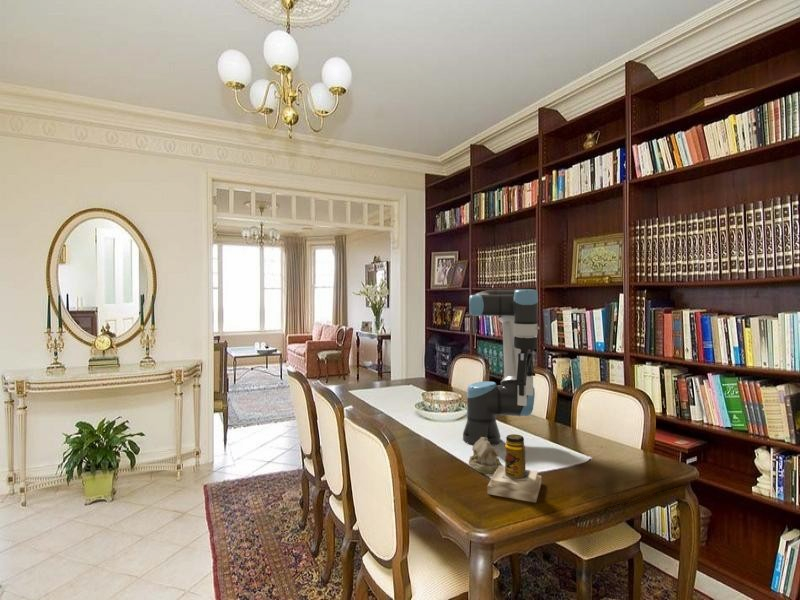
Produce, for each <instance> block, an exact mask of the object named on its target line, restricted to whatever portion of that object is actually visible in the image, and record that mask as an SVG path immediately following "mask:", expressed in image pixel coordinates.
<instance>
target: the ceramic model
mask: <svg viewBox="0 0 800 600" xmlns="http://www.w3.org/2000/svg"><path fill="white" fill-rule="evenodd" d="M471 450H472V451H473V455H471V456H470V457H469V461H468V464H469V466H470V467H472V468H473V469H474V470H475V471H477V472H478V473H481V474H494V473H495V471H496V469H498V467H499V465H500V458H498V457H499V452H498V451H497V450H496V449H495V447H494V445H491V444H490V442H489V441H488V438H487V437H481V438H480V439H479V440H478V441H477V442H476V443H475V444H474V445H473V446H472V449H471Z"/></svg>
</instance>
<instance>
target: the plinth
mask: <svg viewBox="0 0 800 600" xmlns="http://www.w3.org/2000/svg"><path fill="white" fill-rule="evenodd" d="M525 470H527V469H526V468H525ZM529 470H530V471H529V475H528V478H527V481H524V480H516V479H509V478H504V477H502V476H503V474H504V471H505V465H501V464H499V467H498V469H496V471H495V473H493V475H492V477H491V478H490V480H489V482H488V484H487V489H486V491H487V492H486V493H487V494H488V495H492V496H497V497H503V498H508V499H514V500H518V501H524V502H531V503H537V500H538V498H539V497H538V496H539V492H540V490H541V486H542V475H539V472H538V470H532V469H529Z"/></svg>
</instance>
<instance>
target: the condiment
mask: <svg viewBox="0 0 800 600" xmlns="http://www.w3.org/2000/svg"><path fill="white" fill-rule="evenodd" d="M505 439H506V443H505V445H504V452H505V453H504V466H505V471H504V474H503V476H502V477H504V478H509V479H516V480H524V481H527V478H528V475H529V471H530V470H531V469H526V446H525V442H524V441H525V438H524V436H522V435H520V434H514V433H513V434H507V435H506V437H505ZM525 469H526V470H525Z"/></svg>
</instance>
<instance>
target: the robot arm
mask: <svg viewBox="0 0 800 600" xmlns="http://www.w3.org/2000/svg"><path fill="white" fill-rule="evenodd" d="M538 295H539V294H538V290H536V289H487V290H483V291H480V292H476V293H475V294H470V295H469V297H468V298H469V299H468V304H469V305H468V309H469V310H468V312H469V313H468V314H469V315H470V316H473V317H474V316H475V317H498V321H499V322H500V323H501V324H502V344H503V345H502V346H503V347H502V349H503V351H502V352H503V371H504V372H503V374H504V378H503V379H502V380H500V385H497V383H496V382H495V381H489V380H487V381H478V382H474V383H472V384H469V385H468V386H467V388H466V389H467V390H466V392H467V393H466V401H467V403H466V404H467V405H466V423H465V426H464V429H463V431H462V440H463V442H465V443H467V444H470V445H473V446H474V444H475V443H476V442H477V441H478V440H479V439H480V438H481V437H487V438H488V441H489V442H490V444H491V445H492V446H496V445H498V444H500V443H501V433H500V429H499V426H498V423H497V416H509V417H510V416H512V417H513V416H515V417H530V416H531V414H532V413H533V410H534V405H535V398H536V397H535V396H536V393H535V387H534V377H536V372H535V367H534V355H533V354H534V353H533V350H536V349H538V347H539V346H538V343H539V342H538V340H539V339H538V337H537V336H538V333H539V331H538V330H540V326H539V325H538V320H539V319H538V316H539V315H538V310H539V309H538V307H539V304H538V303H539V298H538V297H539V296H538Z"/></svg>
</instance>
